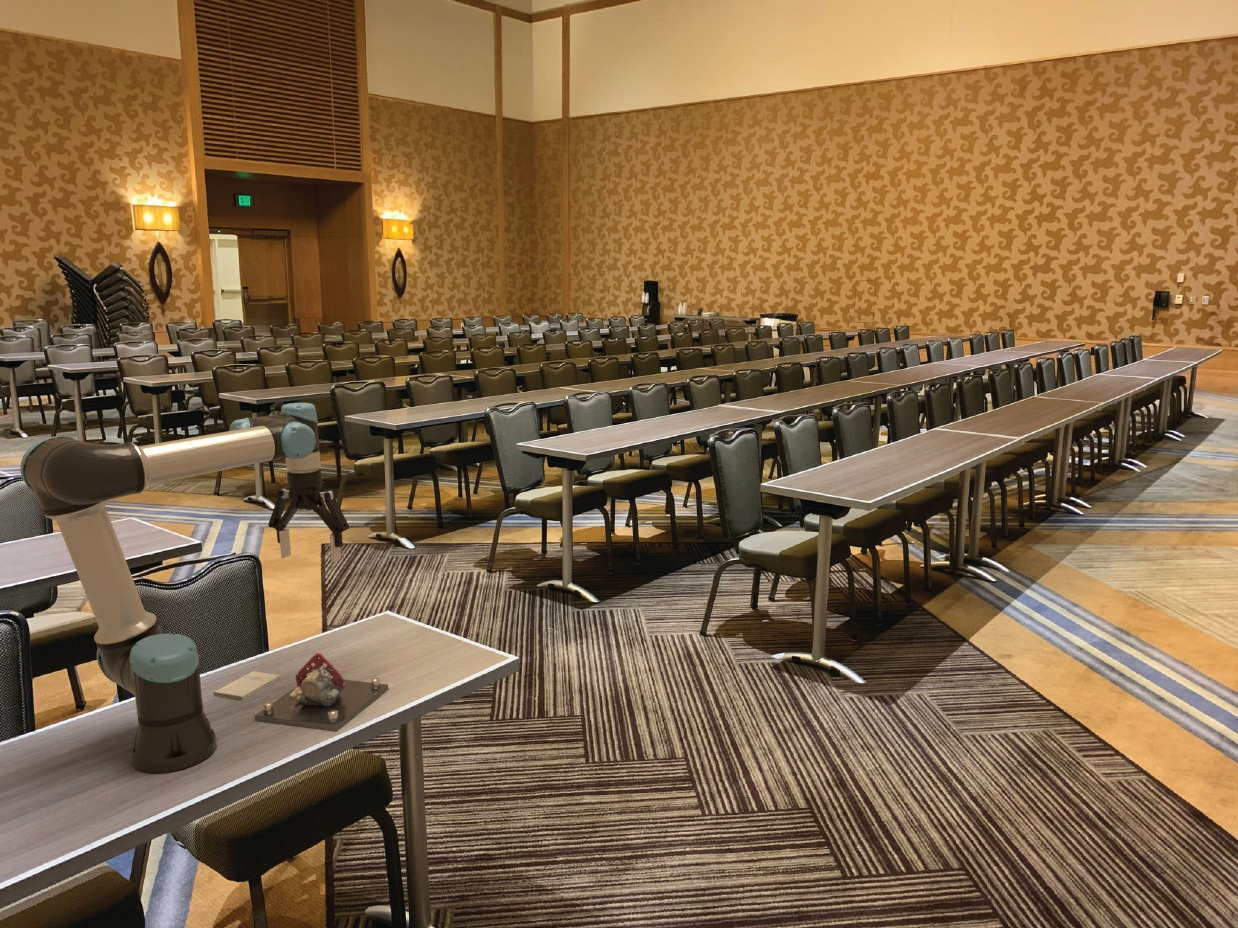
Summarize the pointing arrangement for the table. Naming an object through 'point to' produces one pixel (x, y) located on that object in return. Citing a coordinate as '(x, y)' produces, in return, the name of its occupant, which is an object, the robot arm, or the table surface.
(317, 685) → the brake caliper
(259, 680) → the light wooden board
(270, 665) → the table surface
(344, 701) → the mounting plate
